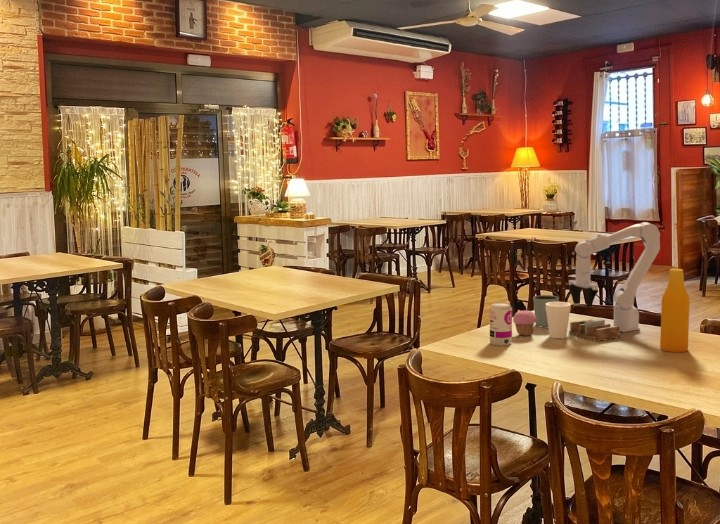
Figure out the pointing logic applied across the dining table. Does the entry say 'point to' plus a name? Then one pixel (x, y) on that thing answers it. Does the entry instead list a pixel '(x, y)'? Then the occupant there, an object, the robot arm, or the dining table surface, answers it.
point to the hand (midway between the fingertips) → (582, 305)
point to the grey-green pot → (542, 308)
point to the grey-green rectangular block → (593, 323)
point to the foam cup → (558, 318)
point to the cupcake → (524, 322)
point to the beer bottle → (675, 314)
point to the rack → (594, 331)
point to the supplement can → (500, 324)
